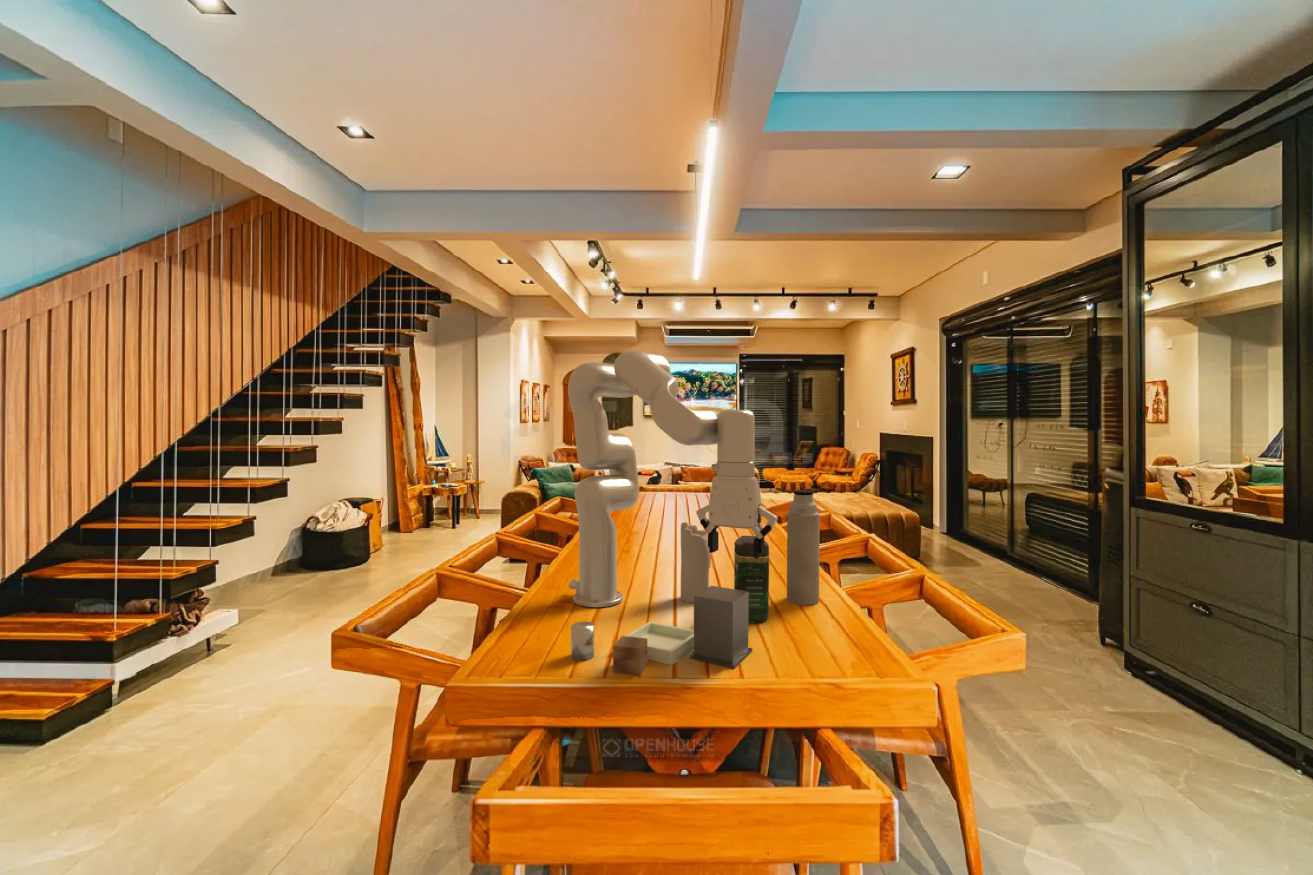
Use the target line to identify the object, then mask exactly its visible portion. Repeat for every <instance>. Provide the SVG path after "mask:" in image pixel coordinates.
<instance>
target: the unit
mask: <svg viewBox="0 0 1313 875" xmlns="http://www.w3.org/2000/svg"><path fill="white" fill-rule="evenodd" d="M748 611H749V591H742V590H736V589H734V588H729V587H722V586H715V585H709V587H708V588H707V589H705V590H703V591H701V592H700V593H698V594H696V595H695V596H694V603H693V630H694V649H693V652H692V653H691V654H689V659H690V660H695V661H699V662H703V663H708V664H712V665H717V666H720V667H721V666H722V667H725V668H730V669H733V670H735V669H736V668H737V666H739V665H740V664H741V663H742V662H743V661H744V660H745V659H746V658H747V657H748V656H749V655H750V654H751V653H752V652H753V648H751V647H749V622H748Z"/></svg>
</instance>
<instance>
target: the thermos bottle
mask: <svg viewBox="0 0 1313 875" xmlns="http://www.w3.org/2000/svg"><path fill="white" fill-rule="evenodd" d="M813 495H814V491H813V490H808V489H798V490H797V489H796V490H793V501H792V502H790V504H789V511H787V513H786V514H787V515H786V522H787V523H786V525H787V526H786V528H787V529H786V601H788V602H789V603H791V604H795V605H799V604H800V606H812V605H811V604H814V605H817V604H819V602H820V531H821V530H820V529H821V528H820V526H821V524H820V522H821V521H820V517H821V516H820V515H821V514H820V512H818V505H817V503H815V502H814V496H813Z"/></svg>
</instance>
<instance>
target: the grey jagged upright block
mask: <svg viewBox="0 0 1313 875" xmlns="http://www.w3.org/2000/svg"><path fill="white" fill-rule="evenodd" d="M680 556H681V557H680V561H681V562H680V601H682V602H684V603H690V604H694V596H695V595H696V594H698V593H700V592H701V591H703V590H705V589H707V588H708V587H710V577H709V576H710V568H711V563H712V562H711V560H712V557H711V556H712V553H710V552H709V547H708V534H707V533H706V531H705V529H701V530H699V528H698V526H697V525H694V524H693V525H692V524H691V525H689V523H688V522H687V521H684V522H681V524H680Z"/></svg>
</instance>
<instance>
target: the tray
mask: <svg viewBox="0 0 1313 875" xmlns="http://www.w3.org/2000/svg"><path fill="white" fill-rule="evenodd" d="M625 636H628V637H638V638H647V661H648V660H649V661H652V662H653V661H654V662H657V663H661V664H664V665H665V664H666V665H669V666H674V664H676V663H677V662H679V660H681V659H682V658H684V657H685V656H686V655H687V654H689V653H691V652H692V651H694V629H689V628H684V627H679V626H673V625H671V624H670V625H668V624H663V623H659V622H656V621H655V622H653V621H648V622H647V623H645V624H644V625H642V626H639V627H638V628H637V629H634V630H633V631H631V632H629V633H628V634H626V635H625Z"/></svg>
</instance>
